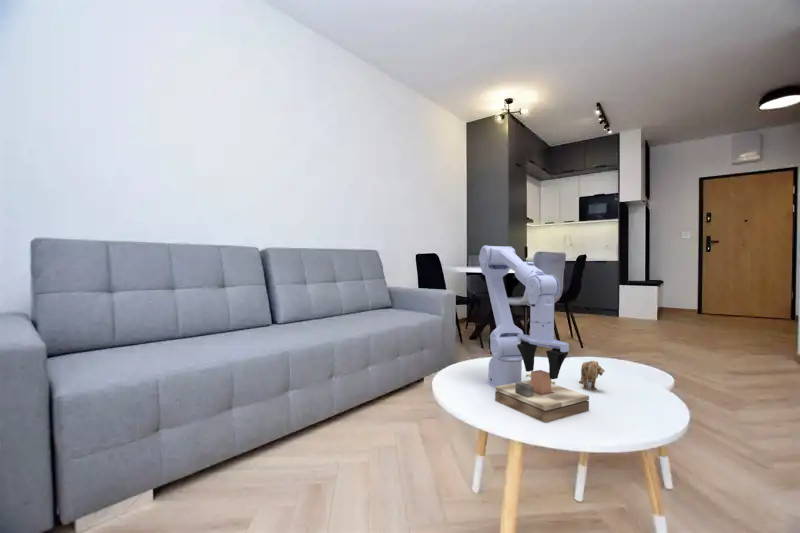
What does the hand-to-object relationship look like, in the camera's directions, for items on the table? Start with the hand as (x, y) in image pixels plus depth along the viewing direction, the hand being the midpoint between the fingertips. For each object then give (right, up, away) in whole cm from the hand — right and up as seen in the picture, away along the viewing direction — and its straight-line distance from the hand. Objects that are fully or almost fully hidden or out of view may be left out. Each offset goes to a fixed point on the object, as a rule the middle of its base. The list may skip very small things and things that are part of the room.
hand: (541, 374), depth 96 cm
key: (+9, -10, +24) cm, 28 cm away
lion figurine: (+22, -9, +19) cm, 30 cm away
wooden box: (0, -9, 0) cm, 9 cm away
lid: (0, -5, 0) cm, 5 cm away
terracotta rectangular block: (0, -8, 0) cm, 8 cm away
